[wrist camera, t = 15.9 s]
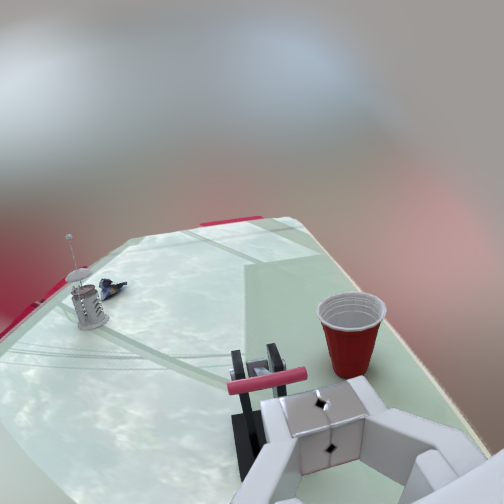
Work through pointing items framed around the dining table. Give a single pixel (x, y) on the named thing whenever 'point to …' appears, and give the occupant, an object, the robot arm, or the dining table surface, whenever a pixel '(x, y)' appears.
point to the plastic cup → (351, 330)
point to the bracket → (252, 413)
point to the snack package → (109, 288)
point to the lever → (264, 377)
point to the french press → (86, 300)
